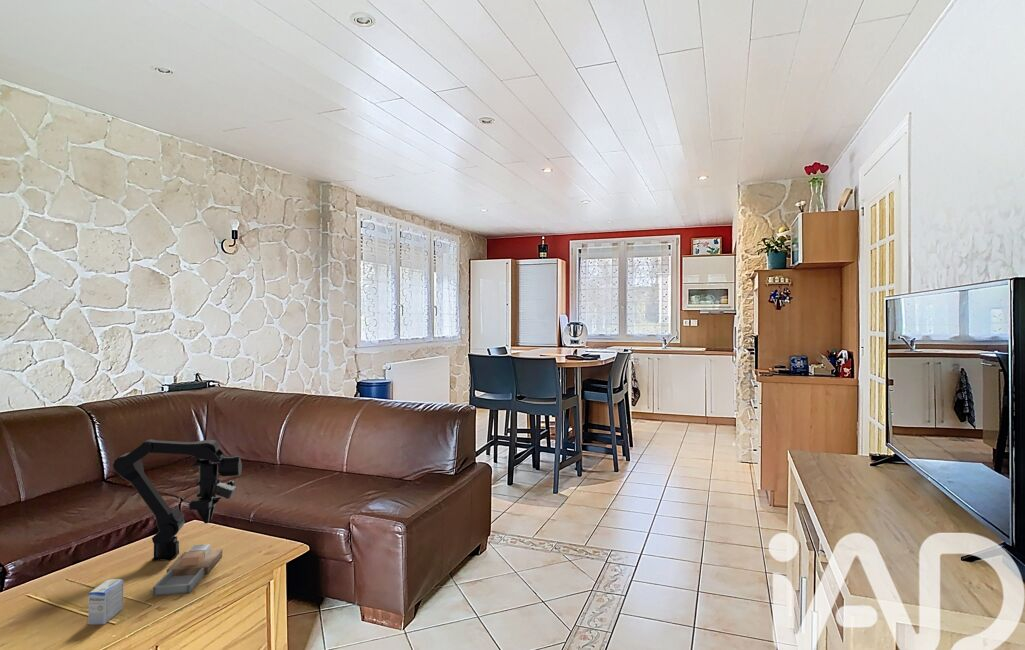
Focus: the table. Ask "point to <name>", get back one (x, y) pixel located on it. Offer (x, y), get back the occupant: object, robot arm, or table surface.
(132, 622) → the table surface
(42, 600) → the table surface
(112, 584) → the medicine box
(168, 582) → the tray
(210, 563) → the walnut board
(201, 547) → the white block
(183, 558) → the tile terracotta
